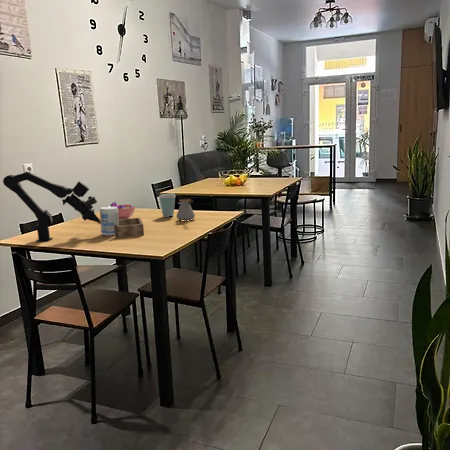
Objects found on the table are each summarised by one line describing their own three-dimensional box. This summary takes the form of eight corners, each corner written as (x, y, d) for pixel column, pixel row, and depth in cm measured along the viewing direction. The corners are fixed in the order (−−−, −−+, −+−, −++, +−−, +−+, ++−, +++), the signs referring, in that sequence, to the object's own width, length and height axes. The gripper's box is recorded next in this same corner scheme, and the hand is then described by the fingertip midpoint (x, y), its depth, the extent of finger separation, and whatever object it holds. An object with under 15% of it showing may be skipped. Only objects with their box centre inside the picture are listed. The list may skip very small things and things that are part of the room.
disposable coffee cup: (157, 217, 290) (155, 194, 286) (164, 214, 300) (163, 192, 297) (172, 218, 287) (171, 195, 283) (179, 215, 297) (177, 192, 293)
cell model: (130, 222, 279) (128, 204, 276) (100, 222, 282) (98, 204, 280) (140, 217, 295) (138, 200, 293) (111, 217, 299) (110, 200, 296)
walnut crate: (115, 237, 239) (114, 225, 237) (113, 229, 258) (112, 218, 257) (144, 235, 243) (143, 222, 241) (140, 227, 262) (139, 216, 261)
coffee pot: (174, 219, 283) (173, 195, 280) (192, 217, 287) (190, 194, 283) (183, 225, 263) (182, 200, 260) (202, 223, 267) (201, 198, 264)
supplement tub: (101, 236, 242) (99, 209, 239) (101, 233, 251) (99, 207, 248) (120, 235, 245) (118, 208, 242) (118, 231, 254) (117, 205, 251)
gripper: (86, 194, 231) (110, 213, 237) (87, 190, 249) (109, 208, 254) (72, 210, 231) (96, 229, 236) (73, 205, 249) (96, 223, 254)
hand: (100, 221), depth 245 cm, fingers closed, pressing on supplement tub
